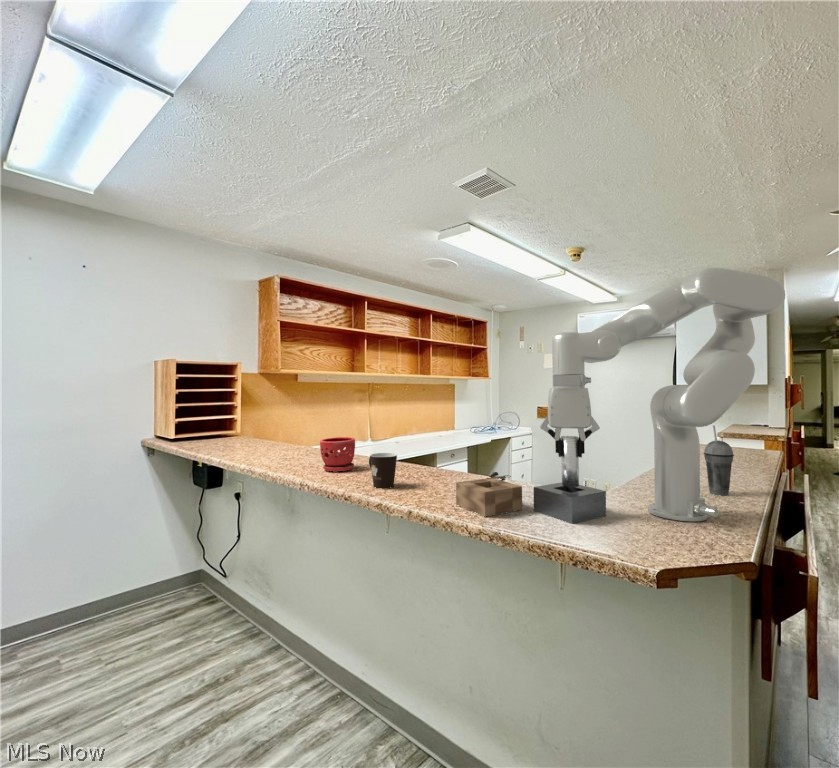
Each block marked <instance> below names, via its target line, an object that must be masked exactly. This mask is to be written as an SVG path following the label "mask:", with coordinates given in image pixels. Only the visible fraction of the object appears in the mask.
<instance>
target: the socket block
mask: <svg viewBox="0 0 839 768" xmlns="http://www.w3.org/2000/svg"><path fill="white" fill-rule="evenodd" d="M533 511H534V512H536V513H539V514H542V515H545V516H548V517H550V518H553V517H554V519H556V518H557V520H559V519H560V521H562V520H563V522H565V521H566V523H568V522H569V524H573V525H574V524H577V523H581V522H586V521H591V520H594V518H595V519H599V518H602V516H603V517H607V491H606V490H604V489H599V488H594V487H590V486H586V485H582V484H579V486H578V487H566V486H563V485H562V481H561V482H555V483H549V484H544V485H537V486H533ZM598 517H599V518H598ZM590 519H591V520H590Z"/></svg>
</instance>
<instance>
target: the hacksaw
mask: <svg viewBox="0 0 839 768" xmlns="http://www.w3.org/2000/svg"><path fill="white" fill-rule="evenodd" d="M488 477H491V478H494V479H503V481H504V480H505V479H506V478H507V477H508V479H509V478H511V477H512V475H509V474H506V475H502V476H501V475H500V476H499V473H498V472H497V471H493V472H492V473H491V474H490V475H489V476H488ZM501 481H502V480H501Z"/></svg>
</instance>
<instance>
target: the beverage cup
mask: <svg viewBox="0 0 839 768" xmlns="http://www.w3.org/2000/svg"><path fill="white" fill-rule="evenodd" d="M712 428H713V435H714V436H713V437H714V440H712V441H710V442H708V443H707V445H706V446H705V448H704V451H703V454H704V460H705V465H706V474H707V482H708V488H709V489H708V490H709V494H711V495H713V494H714V496H719V495H721V497H727V495H728V496H729V492H730V487H731V486H730V485H731V475H732V465H733V464H732V463H733V461H734V456H735V455H734V451H733V448H732V447H731V446H730V444H729V443H727V442H725V441H723V440H718V437H717V431H716V425H714V424H713V425H712Z"/></svg>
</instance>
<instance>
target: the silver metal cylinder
mask: <svg viewBox="0 0 839 768" xmlns="http://www.w3.org/2000/svg"><path fill="white" fill-rule="evenodd" d="M560 438H561V441H562V456H561V457H560V458H561V482H562V485H563V486H566V487H578V486H579V485H580V467H579V466H580V465H579V463H580V462H579V458H580V457H578V438H579V436H576V435H562V436H561V435H560Z"/></svg>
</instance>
